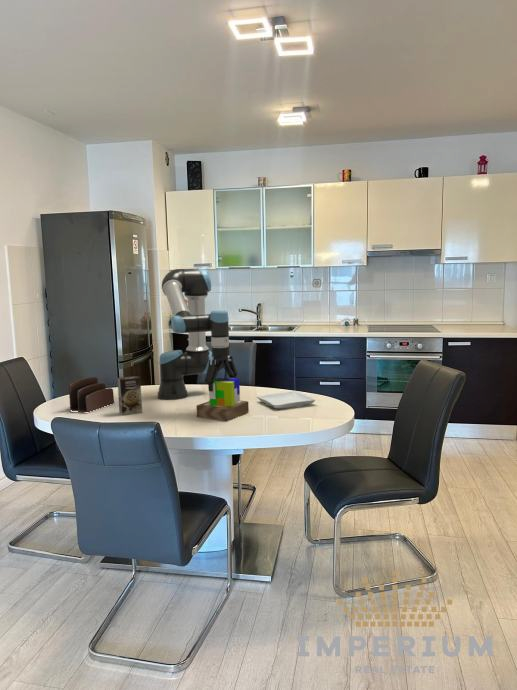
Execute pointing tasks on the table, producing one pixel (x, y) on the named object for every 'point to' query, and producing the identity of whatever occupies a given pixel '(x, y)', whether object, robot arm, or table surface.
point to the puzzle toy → (226, 392)
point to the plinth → (222, 411)
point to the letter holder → (89, 395)
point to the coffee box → (129, 395)
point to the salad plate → (286, 399)
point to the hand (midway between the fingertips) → (222, 395)
